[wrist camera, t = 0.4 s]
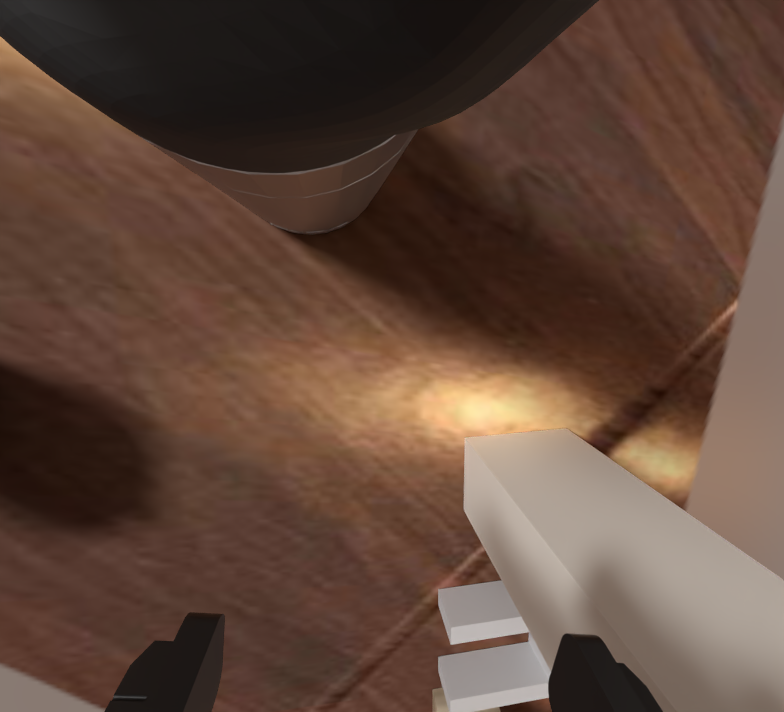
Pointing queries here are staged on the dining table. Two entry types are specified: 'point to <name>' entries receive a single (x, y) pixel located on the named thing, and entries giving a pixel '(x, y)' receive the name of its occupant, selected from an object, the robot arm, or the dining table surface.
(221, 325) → the dining table surface
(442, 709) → the rail end
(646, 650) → the white socket stand
